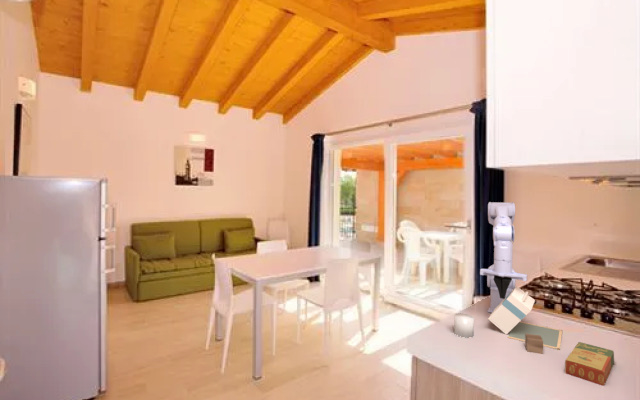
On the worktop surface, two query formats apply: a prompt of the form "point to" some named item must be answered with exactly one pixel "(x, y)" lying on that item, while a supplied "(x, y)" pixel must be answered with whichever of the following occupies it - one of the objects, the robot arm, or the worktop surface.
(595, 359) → the carton
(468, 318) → the white glossy dome
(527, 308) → the milk carton
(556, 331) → the display mat
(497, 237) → the robot arm
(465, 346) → the worktop surface
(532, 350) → the walnut block
